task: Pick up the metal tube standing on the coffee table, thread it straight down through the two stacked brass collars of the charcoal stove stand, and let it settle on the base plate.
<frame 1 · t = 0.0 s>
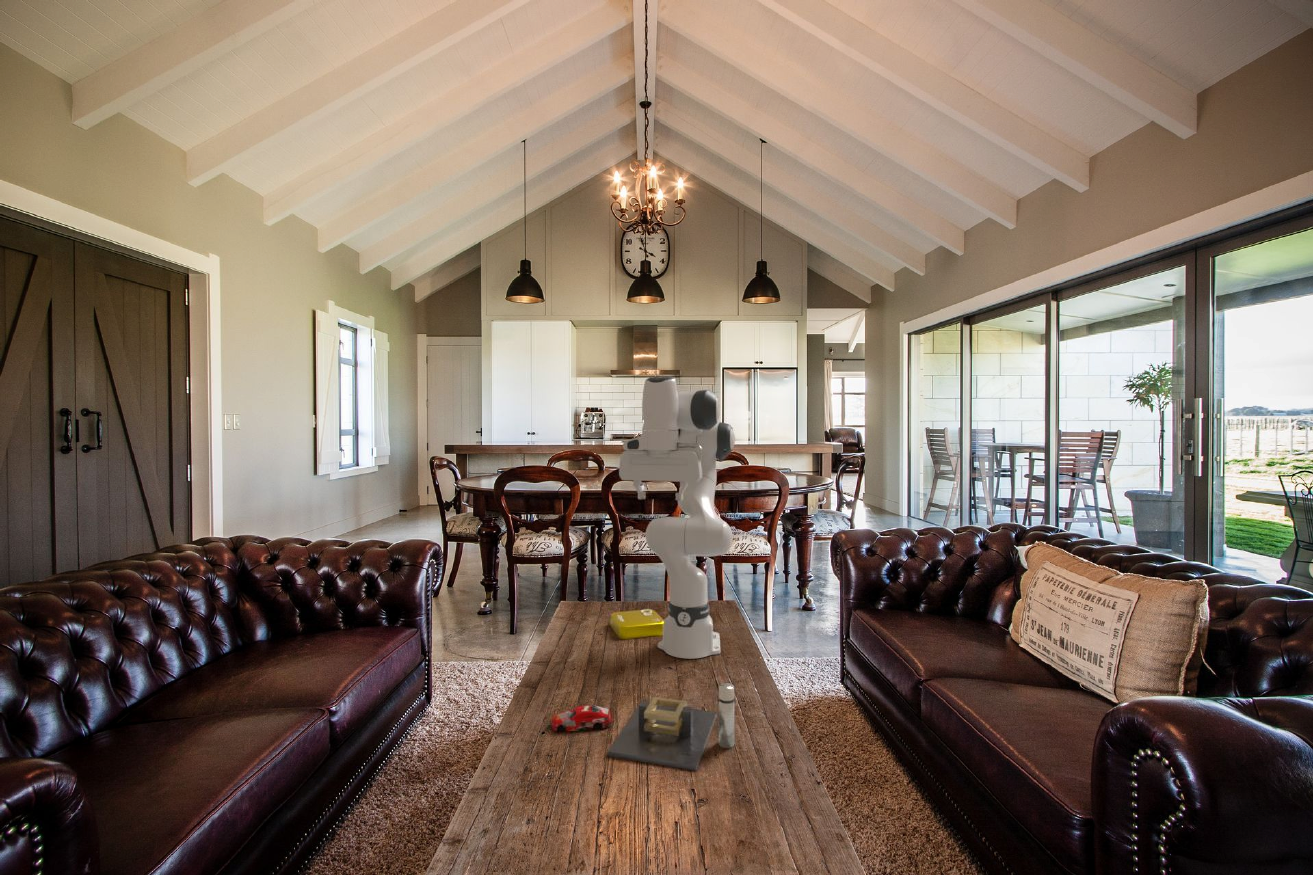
hand: (660, 499, 143), 48 cm above the table, fingers open, 8 cm apart
collar stand: (665, 734, 125), on the table
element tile: (637, 631, 191), on the table
metal tube: (726, 743, 122), on the table
race car: (581, 727, 130), on the table
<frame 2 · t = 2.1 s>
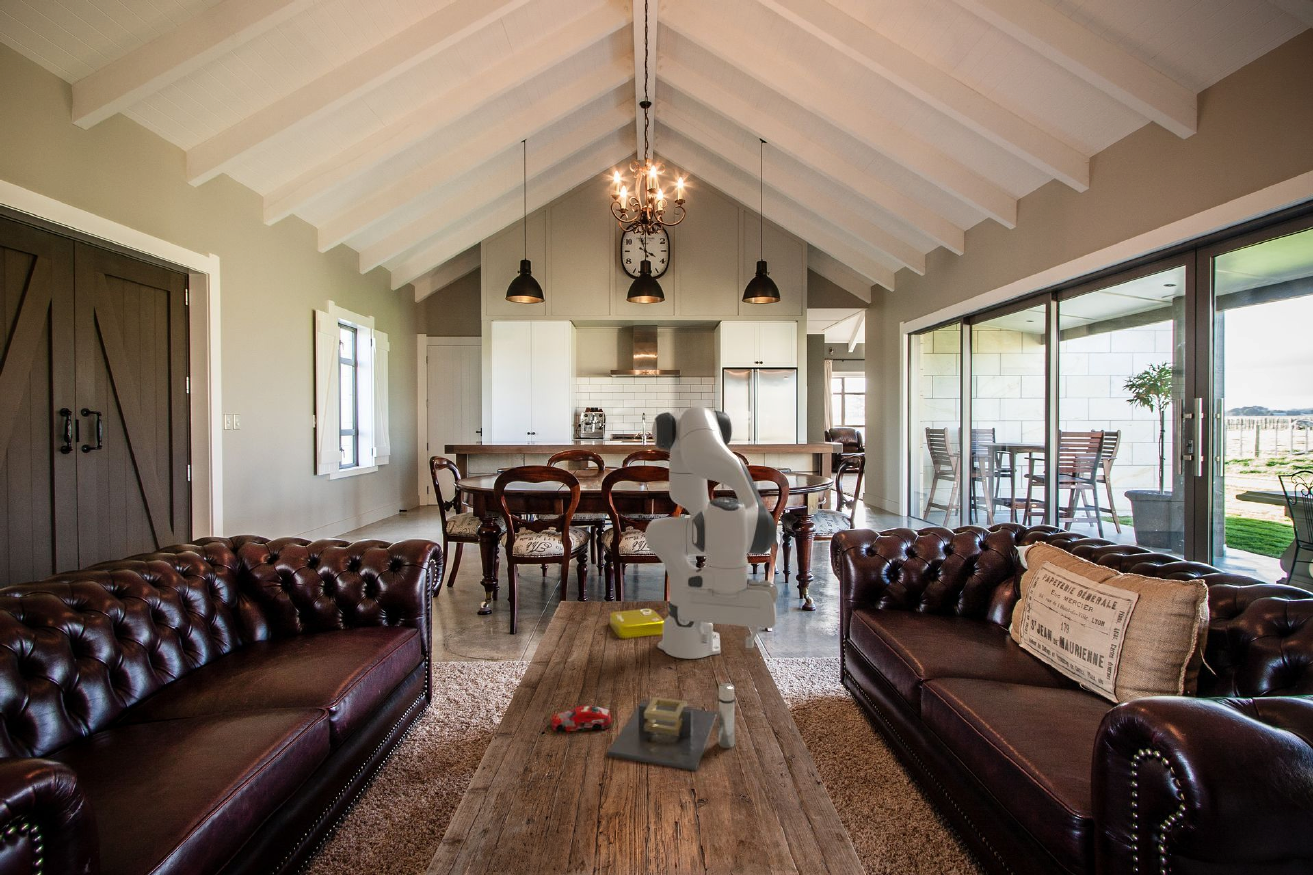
hand: (726, 644, 121), 21 cm above the table, fingers open, 8 cm apart
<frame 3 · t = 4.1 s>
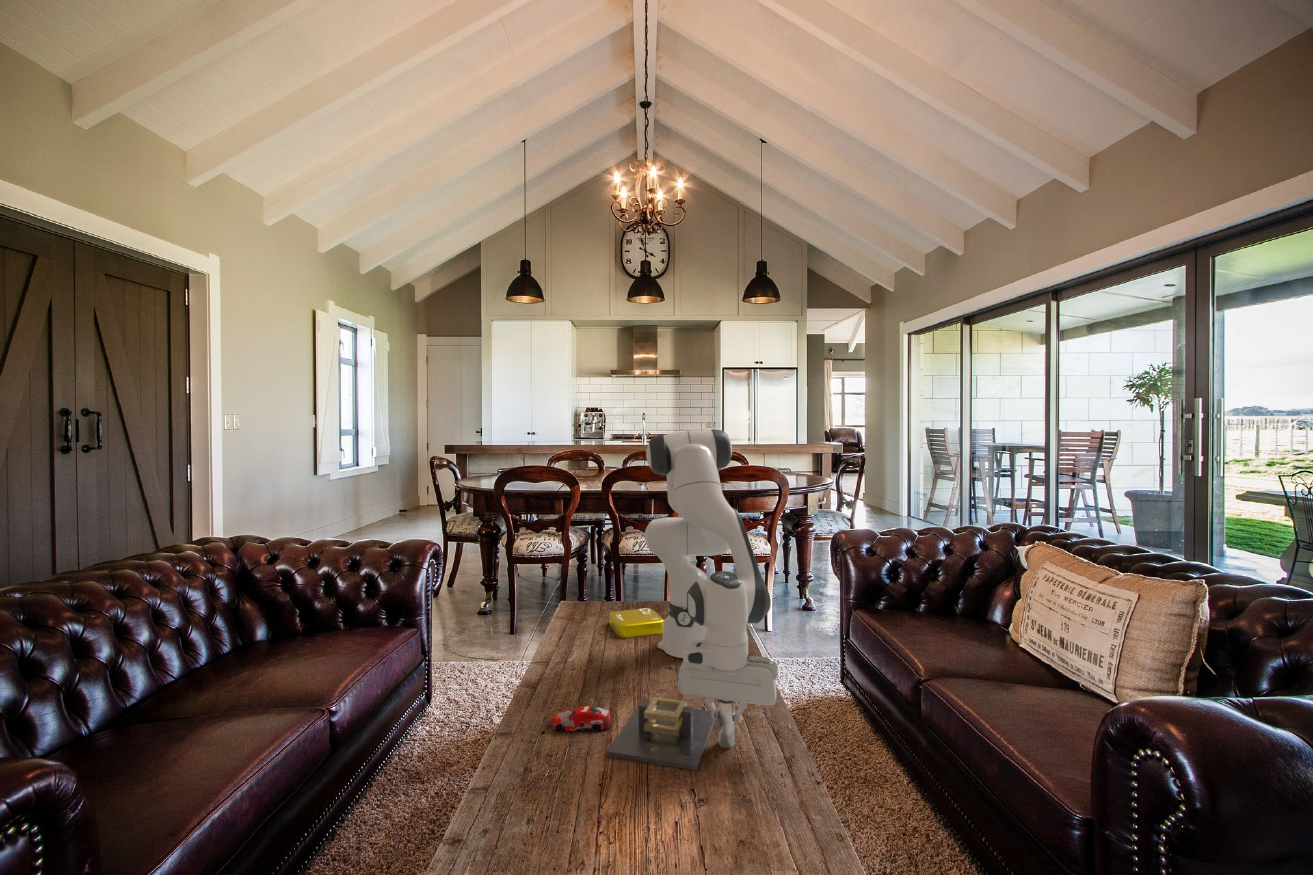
hand: (726, 719, 122), 5 cm above the table, fingers closed on metal tube, 3 cm apart
metal tube: (726, 743, 122), on the table, touching gripper
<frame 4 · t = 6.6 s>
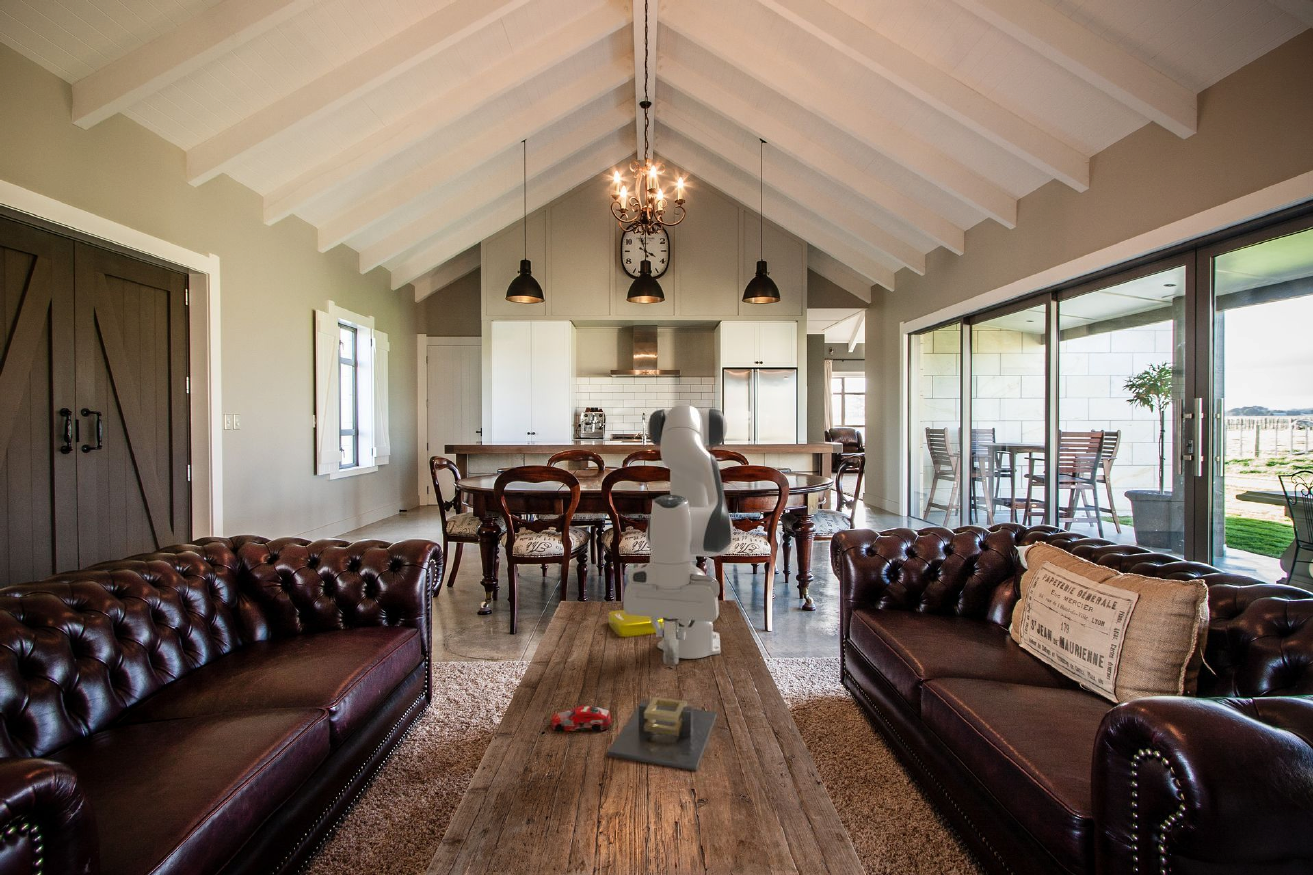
hand: (670, 637, 125), 21 cm above the table, fingers closed on metal tube, 3 cm apart
metal tube: (670, 661, 125), point 16 cm above the table, touching gripper
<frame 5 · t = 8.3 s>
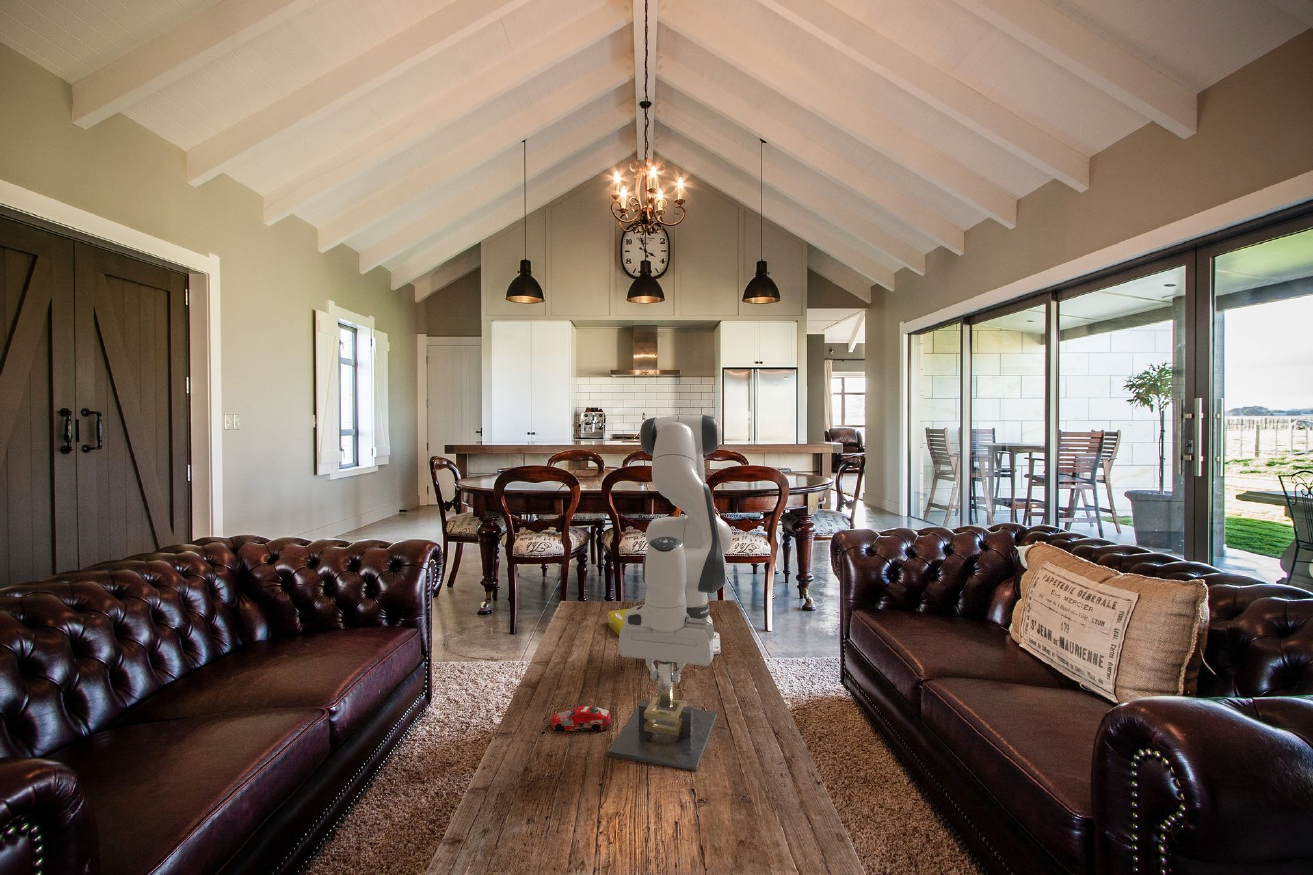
hand: (665, 680, 125), 12 cm above the table, fingers closed on metal tube, 3 cm apart
metal tube: (665, 704, 125), point 7 cm above the table, touching gripper
when the fingers open (8 cm above the table, at t = 9.4 s): metal tube drops 1 cm, resting on collar stand.
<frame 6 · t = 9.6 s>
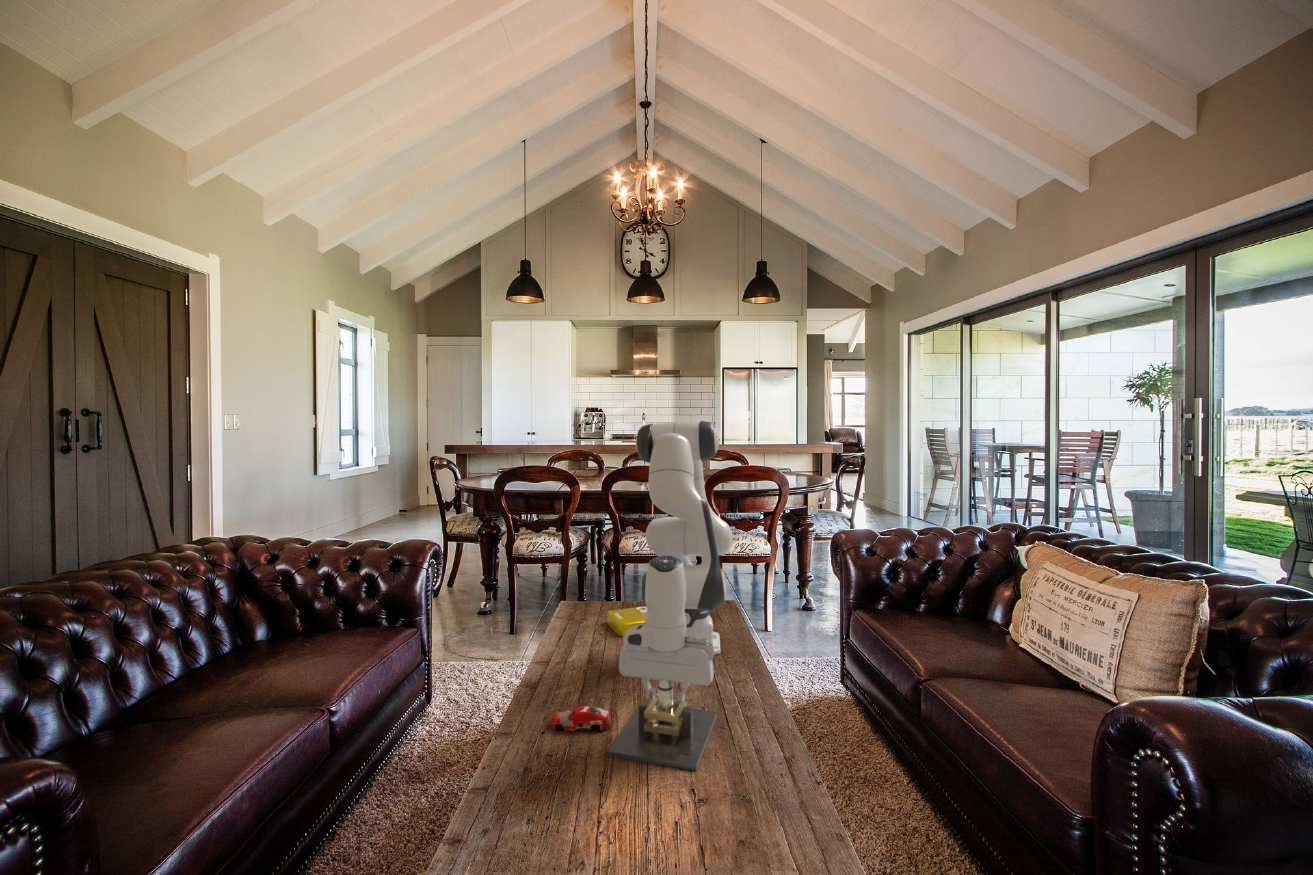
hand: (665, 699, 125), 8 cm above the table, fingers open, 5 cm apart
metal tube: (665, 730, 125), point 1 cm above the table, touching collar stand
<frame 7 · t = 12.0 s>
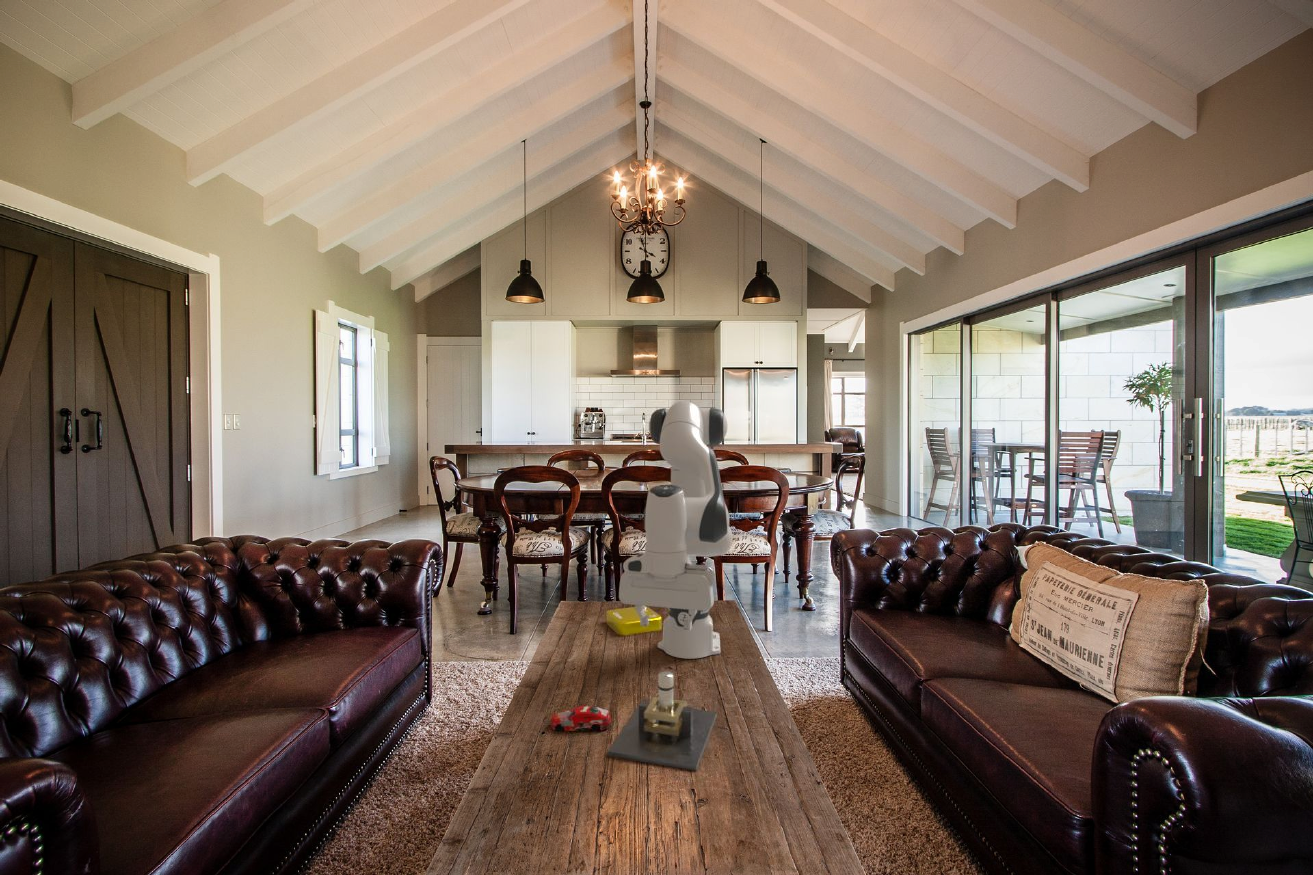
hand: (666, 627, 125), 23 cm above the table, fingers open, 8 cm apart
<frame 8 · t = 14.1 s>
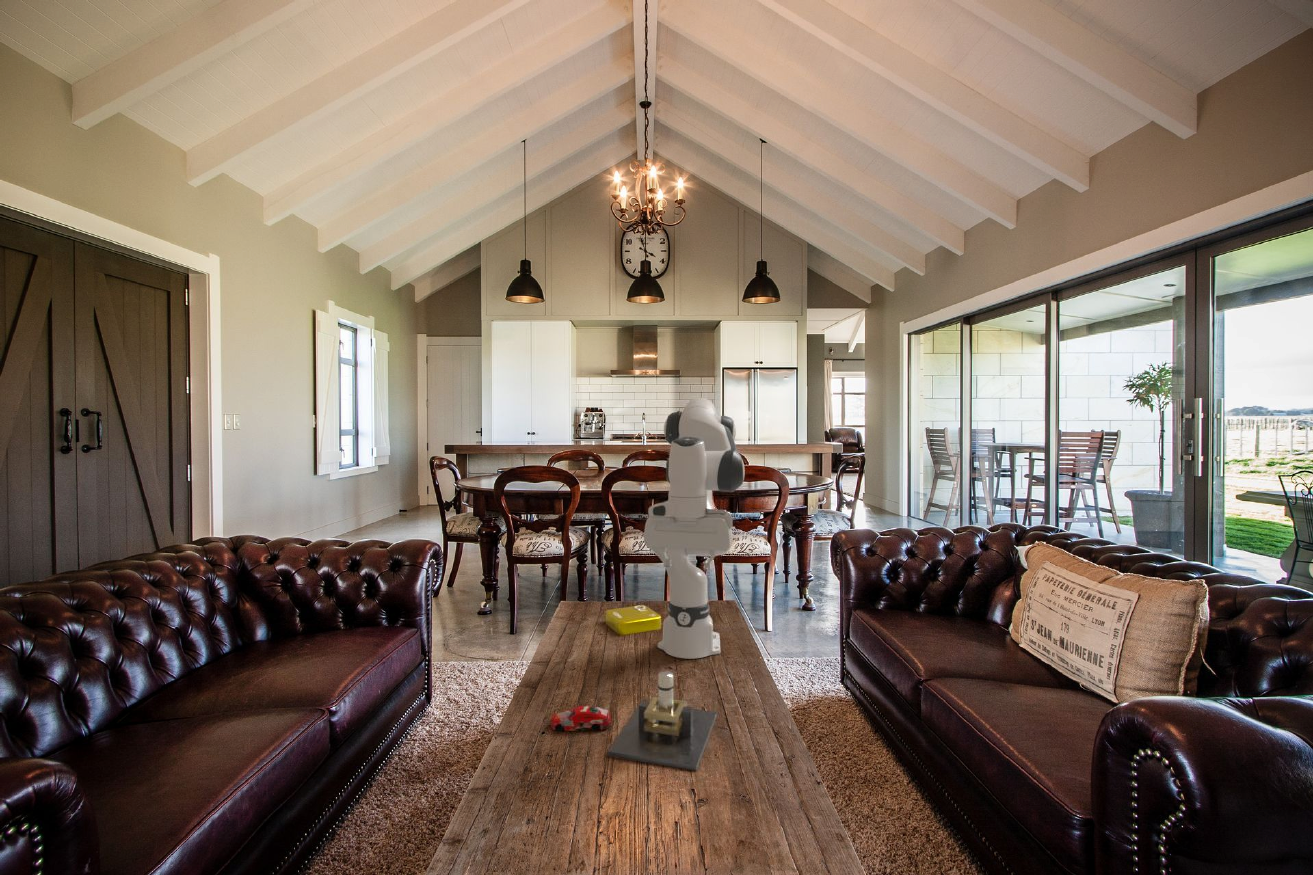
hand: (687, 567, 136), 33 cm above the table, fingers open, 8 cm apart
at the end: metal tube 0.0 cm off-centre on the collar stand, point 1.0 cm above the collar stand's base; metal tube tilted 0°; the gripper is holding nothing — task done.
